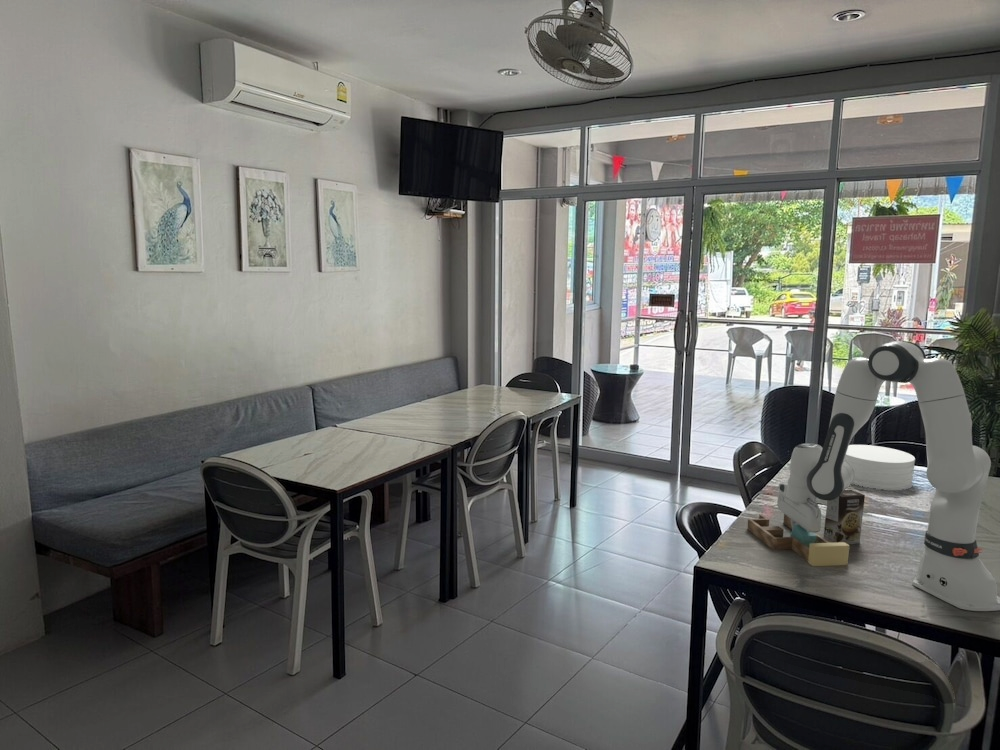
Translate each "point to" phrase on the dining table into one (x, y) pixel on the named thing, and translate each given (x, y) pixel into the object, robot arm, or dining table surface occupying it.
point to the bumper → (828, 554)
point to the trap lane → (779, 536)
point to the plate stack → (880, 467)
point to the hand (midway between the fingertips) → (795, 534)
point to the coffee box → (844, 518)
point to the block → (803, 535)
